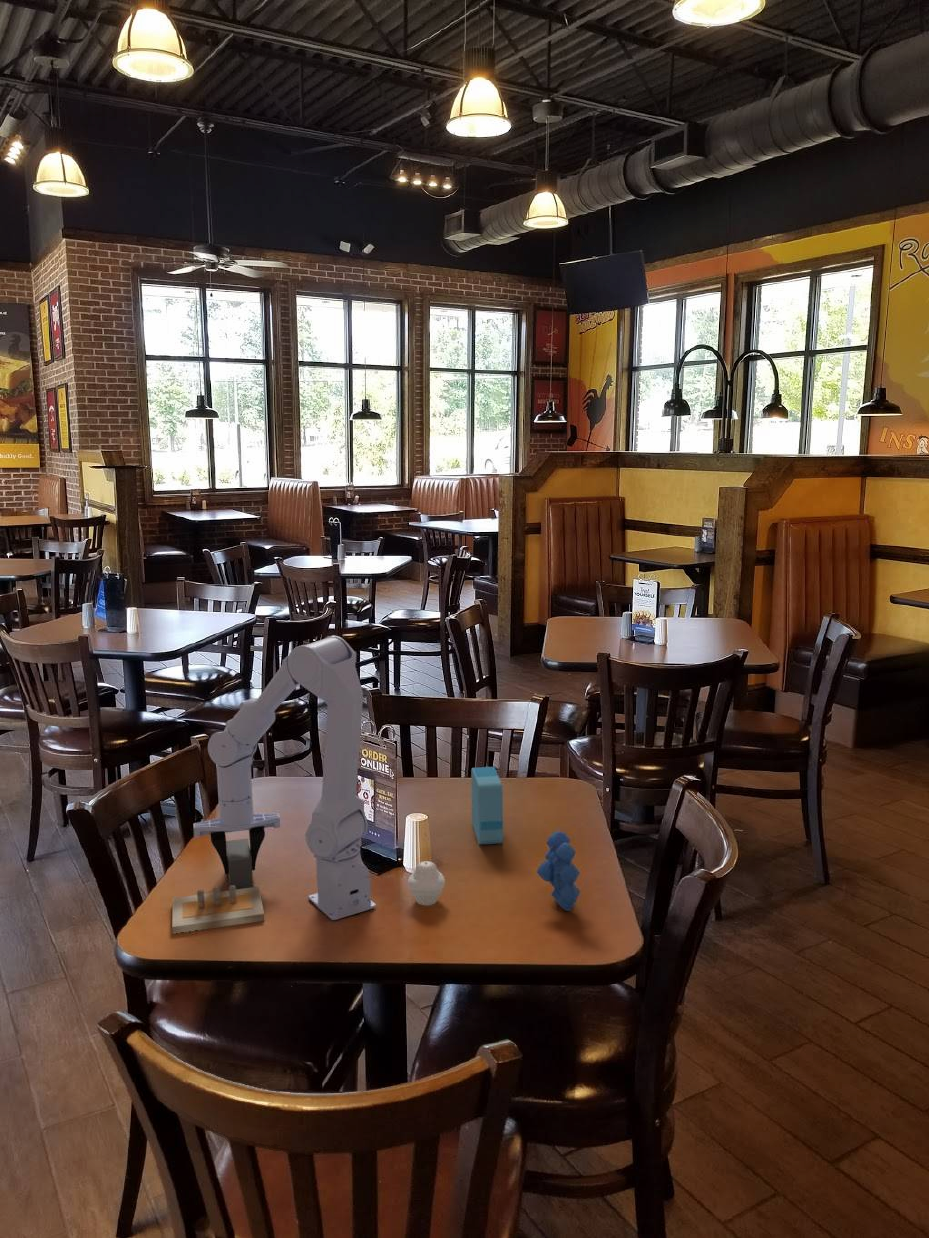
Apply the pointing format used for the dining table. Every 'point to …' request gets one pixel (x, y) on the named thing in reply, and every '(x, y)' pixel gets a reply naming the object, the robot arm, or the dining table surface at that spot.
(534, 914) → the dining table surface
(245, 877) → the block
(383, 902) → the dining table surface
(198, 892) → the board
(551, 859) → the grapes
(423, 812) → the dining table surface
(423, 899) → the muffin
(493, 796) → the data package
